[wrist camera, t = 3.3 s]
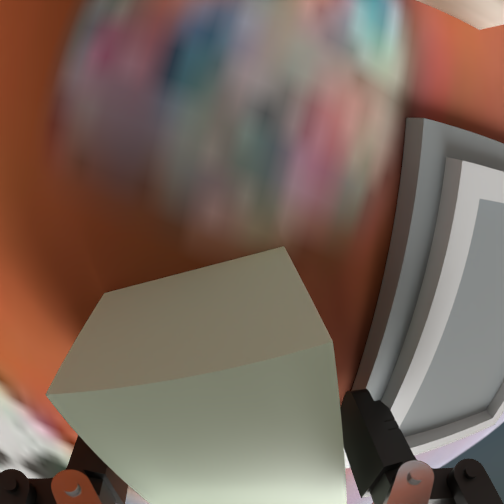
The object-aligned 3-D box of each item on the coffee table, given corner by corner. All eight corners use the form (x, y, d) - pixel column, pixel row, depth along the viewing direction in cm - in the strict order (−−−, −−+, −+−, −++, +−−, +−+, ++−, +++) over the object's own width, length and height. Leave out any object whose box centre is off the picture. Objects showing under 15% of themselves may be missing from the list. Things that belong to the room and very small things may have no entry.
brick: (320, 432, 14) (347, 517, 9) (202, 456, 14) (202, 542, 9) (282, 243, 10) (332, 341, 5) (106, 290, 10) (45, 394, 5)
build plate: (326, 456, 14) (333, 482, 12) (406, 117, 9) (439, 118, 7) (484, 413, 15) (496, 430, 14) (571, 177, 10) (595, 185, 8)
